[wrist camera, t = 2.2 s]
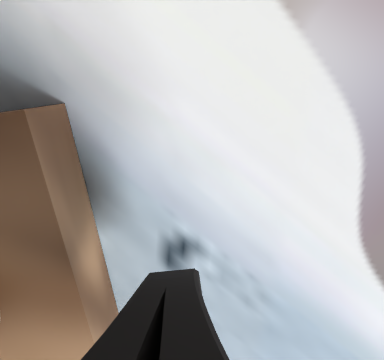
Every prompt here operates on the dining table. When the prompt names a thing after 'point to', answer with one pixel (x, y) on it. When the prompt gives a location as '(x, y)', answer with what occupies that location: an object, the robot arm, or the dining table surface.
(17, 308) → the brown wooden hole board
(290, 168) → the dining table surface
